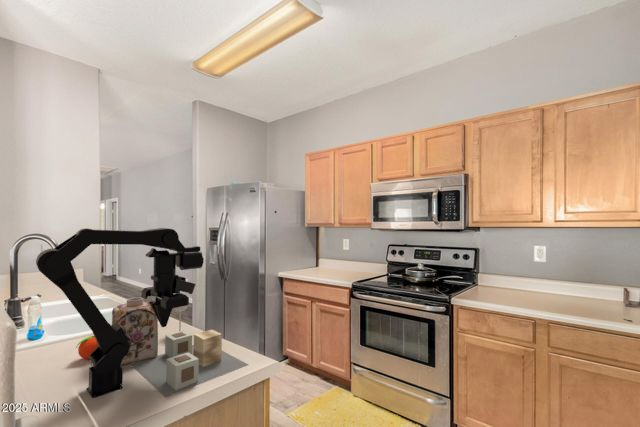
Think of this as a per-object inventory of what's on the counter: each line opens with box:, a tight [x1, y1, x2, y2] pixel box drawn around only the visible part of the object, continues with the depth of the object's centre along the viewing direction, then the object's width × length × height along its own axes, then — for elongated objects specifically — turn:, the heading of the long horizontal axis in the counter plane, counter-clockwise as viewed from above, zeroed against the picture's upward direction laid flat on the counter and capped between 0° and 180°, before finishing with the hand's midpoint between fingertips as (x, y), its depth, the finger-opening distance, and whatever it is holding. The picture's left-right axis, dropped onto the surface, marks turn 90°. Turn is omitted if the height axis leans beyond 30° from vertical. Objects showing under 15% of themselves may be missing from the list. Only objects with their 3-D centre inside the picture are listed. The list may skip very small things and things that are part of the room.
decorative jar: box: [111, 296, 159, 366], centre depth 102 cm, size 12×12×18 cm
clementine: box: [75, 335, 98, 361], centre depth 99 cm, size 8×7×7 cm
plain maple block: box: [193, 329, 223, 367], centre depth 98 cm, size 6×6×8 cm
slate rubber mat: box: [129, 344, 249, 398], centre depth 96 cm, size 24×26×1 cm
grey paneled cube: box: [166, 352, 199, 390], centre depth 85 cm, size 6×6×6 cm
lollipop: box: [172, 305, 189, 332], centre depth 120 cm, size 6×6×15 cm
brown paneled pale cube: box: [164, 330, 193, 358], centre depth 103 cm, size 6×6×6 cm
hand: (163, 326), depth 92 cm, fingers closed
